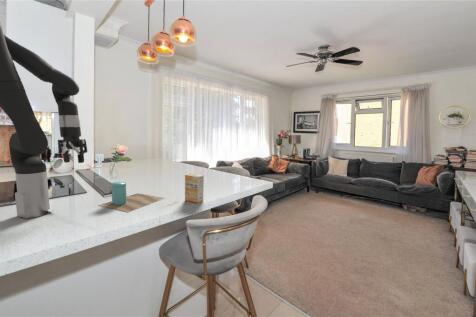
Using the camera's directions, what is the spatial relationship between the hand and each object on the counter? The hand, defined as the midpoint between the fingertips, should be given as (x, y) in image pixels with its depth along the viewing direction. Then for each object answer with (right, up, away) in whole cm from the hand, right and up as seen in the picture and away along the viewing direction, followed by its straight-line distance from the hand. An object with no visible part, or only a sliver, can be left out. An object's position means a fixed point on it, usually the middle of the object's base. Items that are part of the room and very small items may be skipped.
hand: (74, 162), depth 105 cm
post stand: (+25, -20, +3) cm, 32 cm away
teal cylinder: (+20, -18, 0) cm, 27 cm away
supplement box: (+52, -19, +11) cm, 56 cm away
